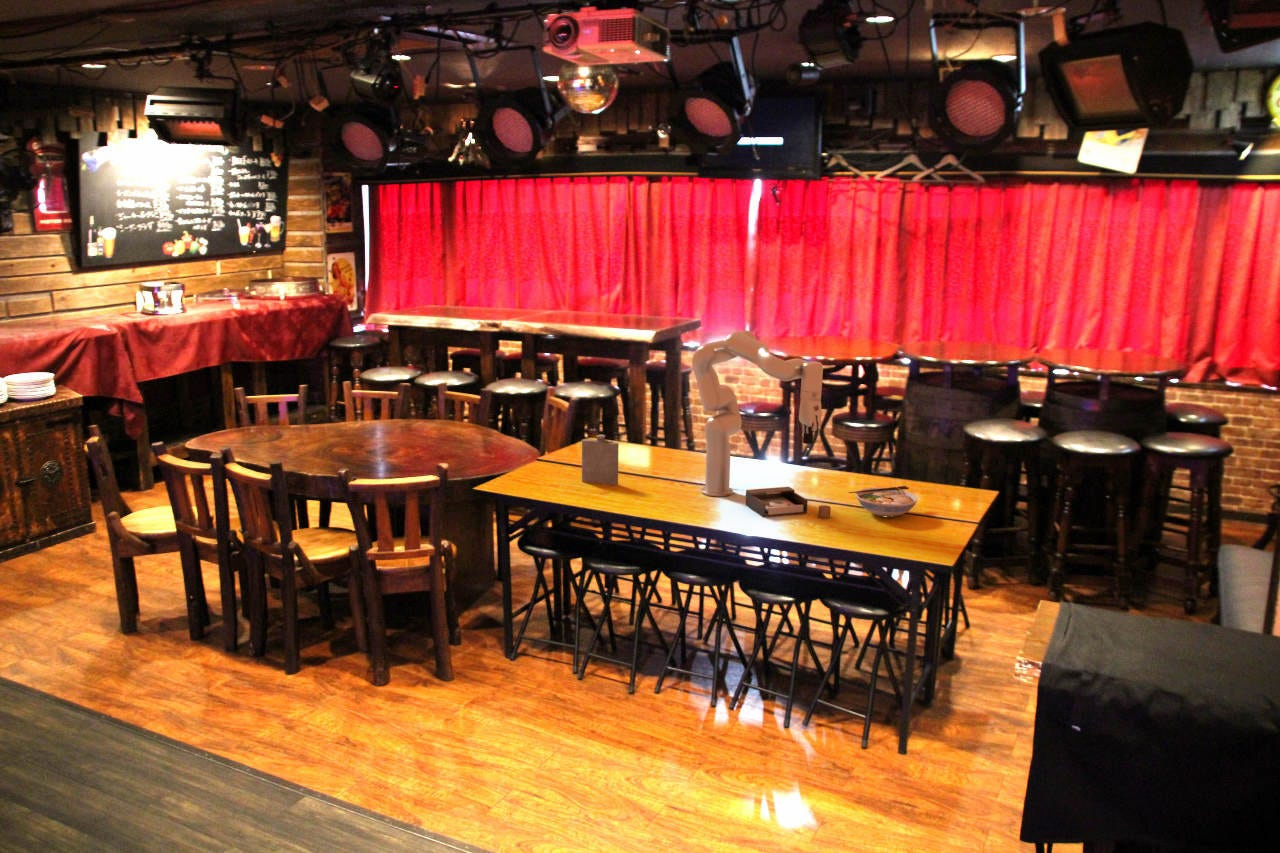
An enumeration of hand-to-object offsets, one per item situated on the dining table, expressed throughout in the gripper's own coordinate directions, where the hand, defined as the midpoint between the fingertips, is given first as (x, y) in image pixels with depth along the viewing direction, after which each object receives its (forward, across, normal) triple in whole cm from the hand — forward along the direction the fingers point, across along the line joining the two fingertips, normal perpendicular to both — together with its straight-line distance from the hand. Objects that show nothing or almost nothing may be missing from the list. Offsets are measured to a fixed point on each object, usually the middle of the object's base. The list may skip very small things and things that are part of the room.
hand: (807, 443), depth 390 cm
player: (+26, +3, +10) cm, 28 cm away
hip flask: (+27, +55, +65) cm, 89 cm away
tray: (+25, +2, +10) cm, 27 cm away
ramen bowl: (+26, -14, -27) cm, 40 cm away
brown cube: (+26, -11, -3) cm, 28 cm away
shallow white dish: (+24, 0, +10) cm, 26 cm away
